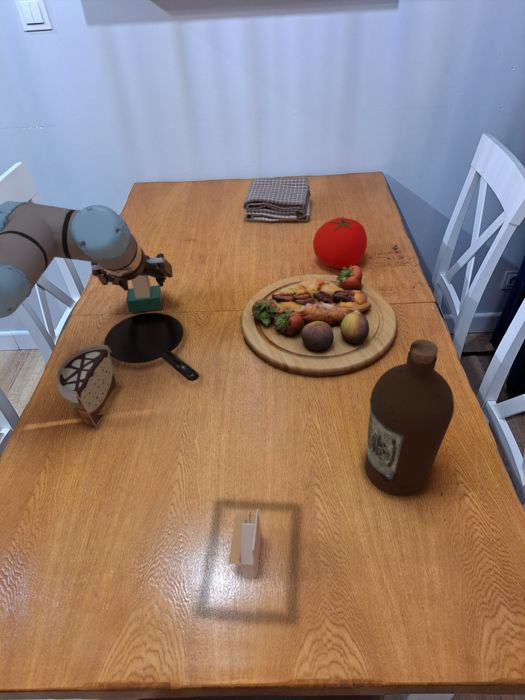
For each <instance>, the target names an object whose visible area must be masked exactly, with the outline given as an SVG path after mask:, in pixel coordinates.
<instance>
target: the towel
mask: <svg viewBox="0 0 525 700" xmlns="http://www.w3.org/2000/svg"><path fill="white" fill-rule="evenodd" d="M310 198H311V189H310V186H309V179H308V177H290V178H289V177H258V178H256V179H254V180H253V181H251V183H250V184H249V187H248V192H247V194H246V196H245V199H244V202H243V205H242V208H243V209H244V210H245V212H244V218H243V219H244V220H245V221H248V222H256V223H257V222H266V223H267V222H270V223H275V222H302V223H303V222H304V223H306V222H308V221H309V218H310V213H311V199H310Z"/></svg>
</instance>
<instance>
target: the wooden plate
mask: <svg viewBox="0 0 525 700" xmlns="http://www.w3.org/2000/svg"><path fill="white" fill-rule="evenodd" d="M339 270H340V273H339V274H334V275H333V274H323V273H311V274H300V275H294V276H290V277H289V276H288V277H286V278H282V279H279V280H276V281H274V282H271V283H270V284H268V285H266V286H264V287H262V288H261V289H260V290H258V291H257V292H255V293H254V294H253V295H252V296H251V298H249V300H248V301H247V302H246V305H245V306H244V307H243V310H242V312H241V318H240V328H241V333H242V336H243V339H244V341H245V343H246V344H247V345H248V346H249V348H250V349H251V350H252V351H253V352H254V353H255V354H256V355H257V356H258V357H259V358H261V359H262V360H264V361H265V362H267V363H268V364H270V365H272V366H273V367H276V368H278V369H281V370H284V371H287V372H291V373H294V374H300V375H307V376H320V377H321V376H335V375H342V374H347V373H351V372H354V371H357V370H359V369H361V368H365V367H366V366H369V365H371V364H372V363H374V362H375V361H377V360H379V358H380V357H382V356H383V355H384V354H386V352H387V351H388V350H389V349H390V348H391V346H392V345H393V344H394V342H395V339H396V335H397V332H398V331H397V330H398V320H397V315H396V313H395V310H394V308H393V306H392V305H391V303H390V302H389V301H388V299H387V298H385V296H383V294H381V293H380V292H378V290H376V289H375V288H373V287H371V286H369V285H368V284H365V283H363V282H362V281H363V275H364V274H363V270H362V268H361V267H360V266H358V265H354V266H351V265H350V267H349V268H346V267H345V266H344V268H342V269H339Z"/></svg>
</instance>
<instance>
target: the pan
mask: <svg viewBox="0 0 525 700" xmlns="http://www.w3.org/2000/svg"><path fill="white" fill-rule="evenodd" d="M183 338H184V327H183V325H182V322H180V321H179V320H178V319H177V318H176V317H174V316H172V315H170V314H167V313H162V312H143V313H138V314H134V315H131V316H129V317H126V318H125V319H124V318H123V319H122V320H120V321H119V322H118V323H116V324H115V325H114V326H113V327H111V328H110V330H108V332H107V334H106V336H105V338H104V342H103V345H107V346H108V347H109V348H110V350H111V353H110V357H111V359H114V360H116V361H118V362H122V363H127V364H143V363H149V362H154V361H156V360H159V359H163V361H164V362H166V363H167V364H168V365H170V367H172V368H173V369H174V370H175V371H177V372H178V373H179V374H180V375H181V376H182V377H184V378H185V379H186V380H187V381H189V382H195V381H197V380H198V379H199V378H200V374H199V373H198V372H197V371H196V370H195V369H194V368H192V367H191V366H190V365H189V364H188V363H186V362H185V361H184V360H183V359H182V358H180V357H179V356H178V355H176V354H175V353H174V352H173V351H174V350H175V349H176V348H177V347H178V346H179V345H180V343H181V342H182V340H183Z"/></svg>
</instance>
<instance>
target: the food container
mask: <svg viewBox="0 0 525 700" xmlns="http://www.w3.org/2000/svg"><path fill="white" fill-rule="evenodd" d="M110 353H111V350H110V348H109V347H108V346H107V345H104V344H99V345H98V344H97V345H92V346H87V347H85V348H82V349H79V350H78V351H76V352H74V353H72V354H71V355H69V356H68V357H66V359H65V360H64V361H63V362H62V363H61V365H60V366H59V368H58V370H57V375H56V382H57V389H58V392H59V394H60V395H61V397H62V398H64V399H65V400H67V401H69V402H70V404H71V405H72V407H73V409H74V410H75V412H76V414H77V416H78V417H79V418H80V420H81V422H83V423H84V425H86V426H88V427H91V428H95V429H96V428H97V427H98V425H99V423H100V421H101V420H102V418H103V417H104V414H105V413H104V414H103V413H102V414H100V413H101V411H102V409H103V407H104V406H105V404H106V403H107V401H108V399H109V397H110V396H111V394H112V393H113V391H114V389H115V387H116V385H117V384H118V380H117V377H116V373H115V369H114V365H113V361H112V357H111V356H110Z"/></svg>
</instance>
